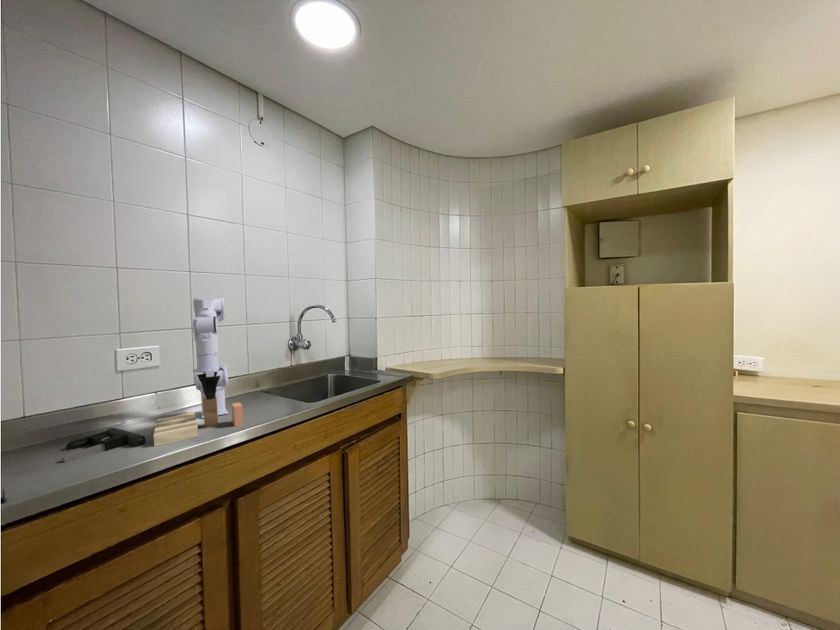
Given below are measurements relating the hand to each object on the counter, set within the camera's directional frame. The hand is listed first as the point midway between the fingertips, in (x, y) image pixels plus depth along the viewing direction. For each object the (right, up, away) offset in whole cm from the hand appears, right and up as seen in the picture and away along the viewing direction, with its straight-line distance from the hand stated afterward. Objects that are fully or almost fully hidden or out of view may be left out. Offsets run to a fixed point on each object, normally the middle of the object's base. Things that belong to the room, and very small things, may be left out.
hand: (209, 397), depth 109 cm
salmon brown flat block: (+9, -9, +1) cm, 12 cm away
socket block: (-7, -10, -5) cm, 13 cm away
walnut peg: (+1, -9, 0) cm, 9 cm away
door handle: (-21, -11, -15) cm, 28 cm away
